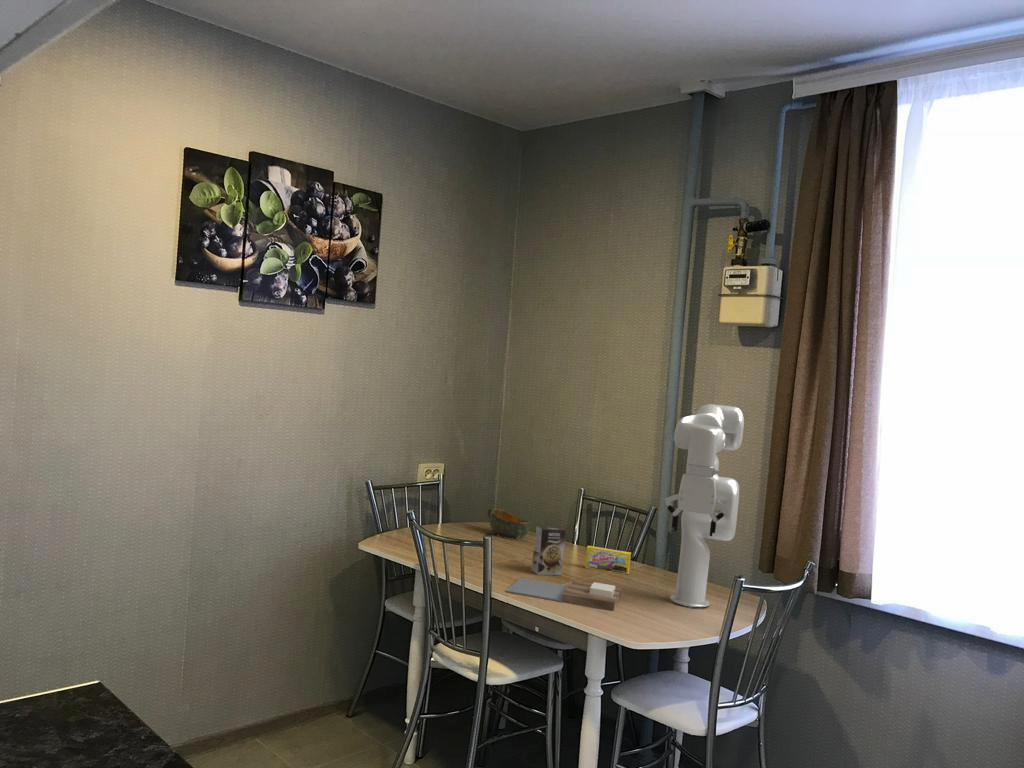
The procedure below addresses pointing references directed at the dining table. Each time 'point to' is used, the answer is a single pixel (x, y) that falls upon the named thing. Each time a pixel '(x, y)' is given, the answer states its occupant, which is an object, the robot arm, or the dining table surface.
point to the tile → (602, 589)
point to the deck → (589, 596)
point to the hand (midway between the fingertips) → (693, 532)
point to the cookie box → (548, 550)
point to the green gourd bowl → (507, 524)
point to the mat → (538, 589)
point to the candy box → (607, 559)
